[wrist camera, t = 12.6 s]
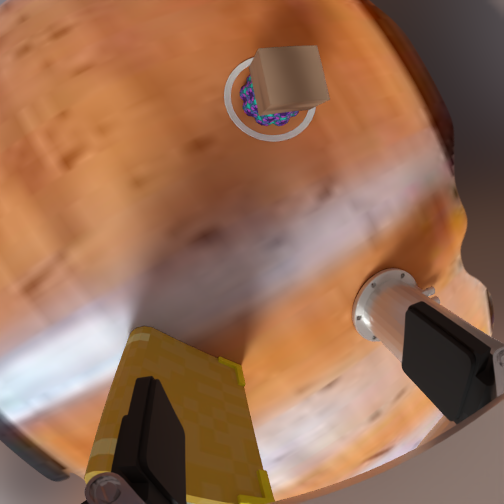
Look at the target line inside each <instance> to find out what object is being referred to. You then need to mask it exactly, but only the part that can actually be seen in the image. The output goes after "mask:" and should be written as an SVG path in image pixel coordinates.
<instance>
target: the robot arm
mask: <svg viewBox="0 0 504 504" xmlns="http://www.w3.org/2000/svg"><path fill="white" fill-rule="evenodd" d="M434 293H435V289H434V287H433V286H431V287H428V288H426V289H424V290H423V289H421V288H419V287H418V286H417V284H416V281H415V280H414V278H413V277H412V276H411V275H410V274H409V273H407V272H406V271H404V270H401V269H397V268H390V269H385V270H382V271H380V272H378V273H376V274H375V275H374V276H372V277H371V278H370V279H369V280H368V281H367V282H366V283H365V284H364V285H363V287H362V288H361V289H360V291H359V293H358V295H357V297H356V299H355V302H354V305H353V310H352V319H353V324H354V326H355V329H356V330H357V331H358V333H359V334H360V335H361V336H362V337H363V338H365V339H367V340H369V341H381V342H382V343H383V344H384V345H385V346H386V347H387V348H388V349H389V350H390V351H391V352H392V353H393V354H394V356H395V357H396V358H397V359H398V360H399V361H400V362H401V363H402V369H403V371H404V372H405V373H406V375H407V376H408V377H409V378H410V379H411V380H412V381H413V382H414V383H415V384H416V385H417V386H418V387H419V388H420V390H421V391H422V392H423V393H424V394H425V395H426V396H427V397H428V398H429V399H430V400H431V401H432V402H433V404H434V405H435V406H436V407H437V408H438V409H439V410H440V411H441V412H442V413H443V414H444V416H443V417H442V418H441V419H440V420H439V422H438V423H437V424H436V425H435V426H434V428H433V429H432V430H431V431H430V432H429V433H428V435H427V436H426V437H425V438H424V439H423V440H422V442H421V443H420V444H419V445H418V447H417V448H416V449H414V450H412V451H410V452H408V453H406V454H404V455H402V456H400V457H398V458H396V459H394V460H392V461H390V462H388V463H385V464H383V465H381V466H379V467H376V468H374V469H372V470H369V471H367V472H365V473H362V474H360V475H357V476H355V477H352V478H350V479H347V480H344V481H342V482H339V483H336V484H333V485H330V486H327V487H324V488H321V489H318V490H315V491H312V492H309V493H305V494H302V495H298V496H295V497H291V498H287V499H283V500H279V501H275V502H271V503H267V504H504V343H501V342H500V341H498V340H496V339H494V338H492V337H490V336H488V335H487V334H485V333H484V332H482V331H480V330H479V329H477V328H475V327H474V326H472V325H471V324H469V323H468V322H466V321H465V320H463V319H462V318H460V317H459V316H457V315H456V314H454V313H453V312H451V311H450V310H448V309H446V308H445V307H443V306H442V305H440V300H439V298H438V297H437V296H434V297H432V298H429V297H428V296H430V295H433V294H434ZM85 497H86V501H84V502H83V503H81V504H187V502H186V465H185V432H184V429H183V426H182V425H181V423H180V421H179V419H178V417H177V415H176V413H175V411H174V409H173V407H172V405H171V403H170V401H169V399H168V397H167V395H166V393H165V390H164V388H163V386H162V384H161V382H160V380H159V379H154V377H153V376H147V377H141V378H137V379H136V381H135V385H134V389H133V394H132V398H131V402H130V406H129V411H128V415H124V416H123V418H122V421H121V425H120V430H119V434H118V439H117V443H116V448H115V453H114V458H113V463H112V468H111V472H104V473H100V474H97V475H95V476H94V477H92V478H91V479H90V480H89V481H88V483H87V484H86V487H85Z"/></svg>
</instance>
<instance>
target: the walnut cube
mask: <svg viewBox="0 0 504 504" xmlns="http://www.w3.org/2000/svg"><path fill="white" fill-rule="evenodd" d="M249 70H250V75H251V79H252V84H253V89H254V94H255V99H256V103H257V108H258V113H259V116H262V115H269V114H276V113H284V112H293V111H302V110H310V109H312V108H314V107H316V106H318V105H320V104H322V103H324V102H326V101H328V100H330V98H329V93H328V89H327V84H326V80H325V76H324V72H323V67H322V63H321V59H320V55H319V52H318V48H317V46H287V47H271V48H260V49H258V50H257V52H256V54H255V56H254V58H253V60H252V62H251V64H250V66H249Z"/></svg>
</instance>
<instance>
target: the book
mask: <svg viewBox="0 0 504 504" xmlns="http://www.w3.org/2000/svg"><path fill="white" fill-rule="evenodd" d="M147 376H153V377H154V379H159V380H160V382H161V384H162V386H163V388H164V390H165V393H166V395H167V397H168V399H169V401H170V403H171V405H172V407H173V409H174V411H175V413H176V415H177V417H178V419H179V421H180V423H181V425H182V426H183V429H184V432H185V465H186V502H187V504H267V503H271V502H275V500H274V497H273V493H272V490H271V486H270V482H269V478H268V474H267V471H265V470H263V466H262V462H261V458H260V454H259V450H258V446H257V442H256V437H255V433H254V429H253V425H252V420H251V416H250V412H249V407H248V403H247V398H246V394H245V389H244V386H245V380H244V376H243V371H242V366H241V365H239V364H237V363H234V362H232V361H230V360H227V359H225V358H223V357H220V356H219V357H218V358H216V357H214V356H211V355H209V354H207V353H205V352H202V351H200V350H198V349H196V348H194V347H191V346H189V345H187V344H185V343H183V342H181V341H179V340H177V339H175V338H173V337H170V336H168V335H166V334H164V333H162V332H160V331H158V330H156V329H154V328H152V327H146V326H143V327H138V328H136V329H135V330H133V331H132V332H131V334H130V336H129V338H128V341H127V343H126V346H125V349H124V351H123V354H122V357H121V360H120V362H119V365H118V368H117V371H116V374H115V377H114V380H113V382H112V385H111V388H110V391H109V394H108V397H107V401H106V404H105V407H104V410H103V413H102V416H101V420H100V423H99V426H98V430H97V433H96V436H95V440H94V443H93V447H92V450H91V454H90V458H89V462H88V465H87V469H86V473H85V477H84V479H85V482H86V484H87V483H88V481H89V480H90V479H91V478H92V477H94V476H95V475H97V474H100V473H104V472H111V468H112V463H113V458H114V453H115V448H116V443H117V439H118V434H119V430H120V425H121V421H122V418H123V416H124V415H128V411H129V406H130V402H131V398H132V394H133V389H134V385H135V381H136V379H137V378H141V377H147Z"/></svg>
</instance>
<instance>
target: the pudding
mask: <svg viewBox="0 0 504 504" xmlns="http://www.w3.org/2000/svg"><path fill="white" fill-rule="evenodd" d="M253 58H254V57H253ZM253 58H250V59H248V60H246V61H244V62H242V63H241V64H239V65H238V66H237V67H236V68H235V69H234V70H233V72H232V73H231V74H230V76H229V78H228V80H227V82H226V86H225V90H224V100H225V106H226V109H227V112H228V114H229V116H230V118H231V119H232V121H233V122H234V123H235V124H236V126H237V127H238V128H240V129H241V130H242V131H243V132H245V133H246V134H248V135H249V136H252V137H254V138H256V139H259V140H264V141H272V142H275V141H283V140H287V139H290V138H292V137H294V136H296V135H298V134H299V133H301V132H302V131H303V130H304V129H305V128H306V127H307V126H308V125H309V123H310V122H311V120H312V118H313V116H314V113H315V108H316V107H314V108H312V109H310V110H308V113H307V115H306V117H305V119H304V120H303V122H302V123H301V124H300V125H299V126H298V127H297V128H295V129H294V130H292V131H290V132H288V133H285V134H281V135H265V134H261V133H258V132H255V131H253V130H251V129H250V128H248V127H247V126H246V125H244V124H243V123H242V122H241V121H240V119H239V118H238V117H237V115H236V114H235V112H234V110H233V107H232V103H231V89H232V85H233V82H234V80H235V78H236V77H237V76H238V74H239V73H240V72H241V71H242V70H243V69H245V68H246V67H248V66H249V65H250V64H251V62H252V60H253ZM240 97H241V98H242V100H243V101H244V103H243V106H242V107H243V110H244V112H245V113H246V114H247V115H248V116H252V117H255V120H256V122H257V123H259V124H261V125H264V126H268V125H270V124H272V123H273V124H275V125H277V126H282V125H285V124H286V123H288V121H289V118H290V117H294V116H296V115H297V114H298V113H299V111H293V112H284V113H276V114H269V115H262V116H259V113H258V108H257V103H256V99H255V94H254V89H253V84H252V79H251V75H249V76H248V78H247V84H246V85H244V86H242V87H241V90H240Z"/></svg>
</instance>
